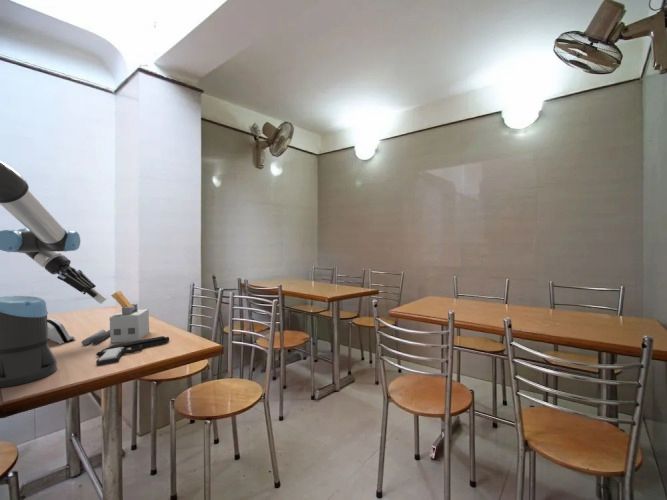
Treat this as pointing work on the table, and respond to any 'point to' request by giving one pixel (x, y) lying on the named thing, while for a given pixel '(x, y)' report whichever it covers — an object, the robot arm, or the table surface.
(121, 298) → the lever
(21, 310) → the robot arm
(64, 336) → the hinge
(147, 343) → the handgun
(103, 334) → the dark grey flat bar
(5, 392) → the table surface
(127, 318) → the breaker box
